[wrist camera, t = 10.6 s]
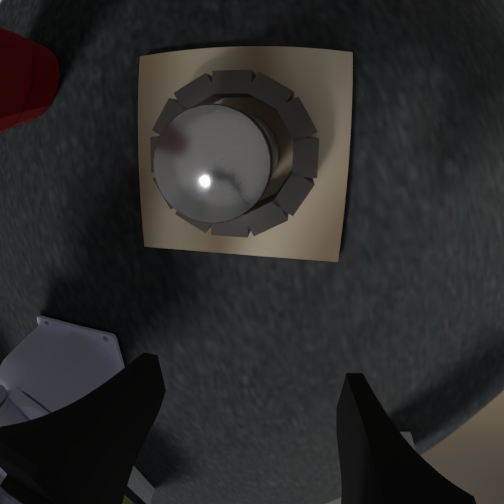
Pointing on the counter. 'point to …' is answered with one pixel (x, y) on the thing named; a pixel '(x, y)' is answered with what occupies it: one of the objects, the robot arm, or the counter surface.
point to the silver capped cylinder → (215, 162)
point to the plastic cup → (25, 79)
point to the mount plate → (287, 133)
